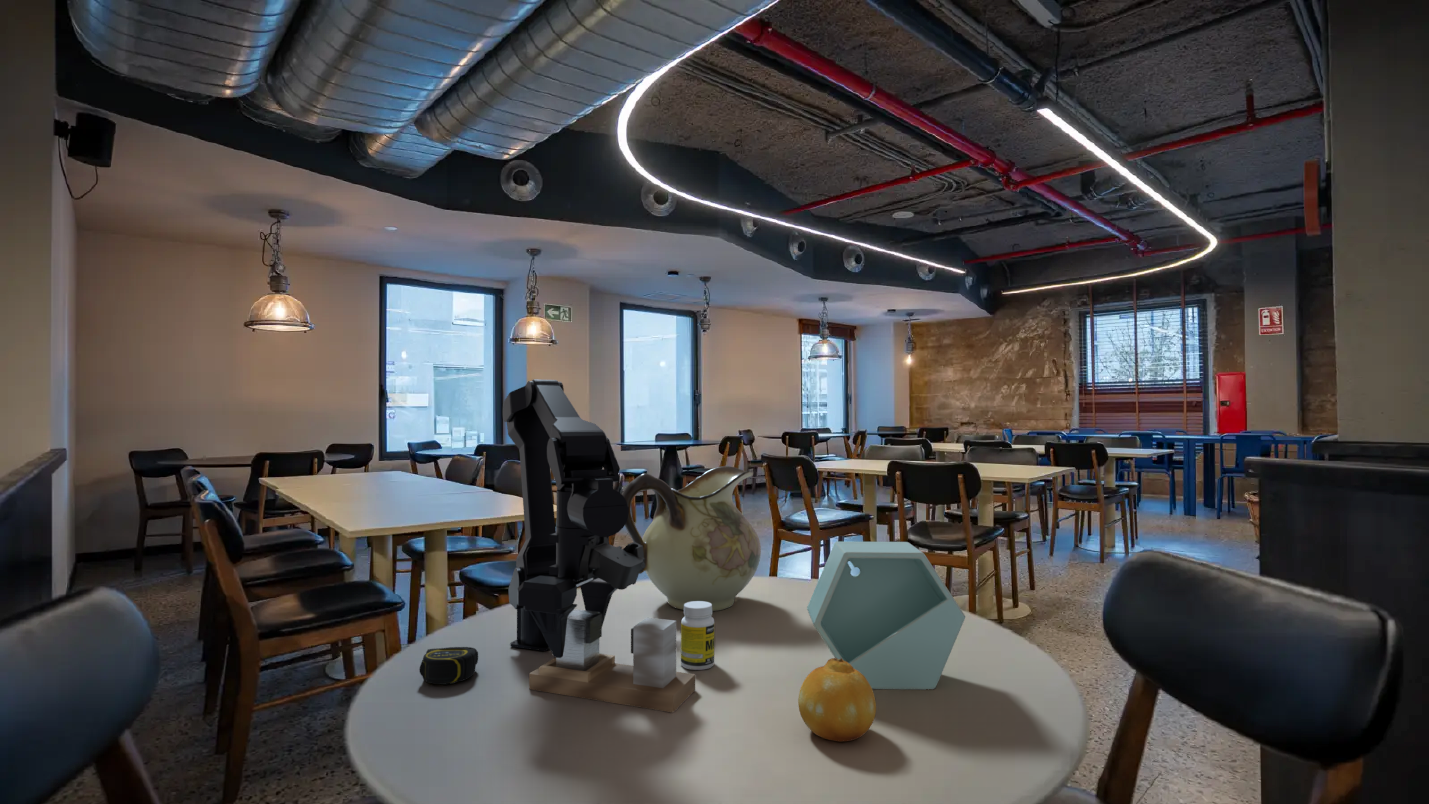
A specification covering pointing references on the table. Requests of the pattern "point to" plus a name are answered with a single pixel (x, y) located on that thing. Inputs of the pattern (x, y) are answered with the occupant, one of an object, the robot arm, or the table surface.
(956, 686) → the table surface
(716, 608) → the pitcher
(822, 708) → the fruit
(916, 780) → the table surface
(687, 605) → the supplement bottle
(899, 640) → the planter
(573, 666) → the grey rectangular block
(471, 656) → the tape measure
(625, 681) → the wooden tray stand
